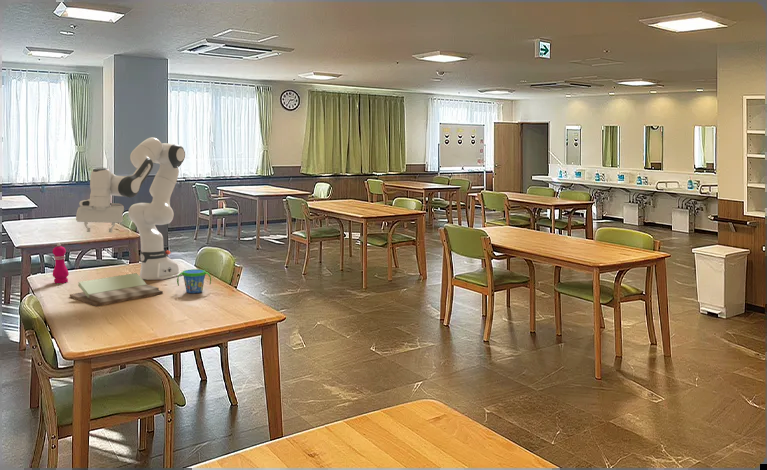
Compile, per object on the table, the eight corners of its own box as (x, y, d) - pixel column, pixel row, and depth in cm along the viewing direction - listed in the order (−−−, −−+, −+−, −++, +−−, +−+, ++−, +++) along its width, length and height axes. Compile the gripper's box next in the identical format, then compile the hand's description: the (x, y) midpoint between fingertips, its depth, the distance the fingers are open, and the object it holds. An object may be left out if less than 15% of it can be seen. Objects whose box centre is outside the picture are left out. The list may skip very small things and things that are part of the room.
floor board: (135, 285, 323) (134, 279, 323) (162, 293, 307) (162, 287, 307) (69, 296, 299) (69, 290, 299) (96, 306, 283) (95, 298, 283)
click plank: (135, 276, 318) (136, 273, 317) (146, 287, 313) (146, 284, 312) (78, 285, 297) (78, 282, 296) (88, 297, 292) (88, 294, 291)
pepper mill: (72, 281, 332) (69, 242, 329) (63, 284, 325) (61, 244, 322) (58, 280, 333) (56, 241, 330) (50, 283, 326) (47, 244, 323)
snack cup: (212, 289, 317) (212, 268, 316) (210, 294, 307) (209, 273, 306) (179, 289, 315) (178, 269, 314) (175, 295, 305) (174, 273, 304)
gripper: (124, 203, 312) (123, 232, 313) (76, 201, 304) (76, 231, 306) (124, 203, 306) (123, 233, 307) (75, 202, 299) (75, 232, 300)
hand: (99, 232), depth 306 cm, fingers open, 8 cm apart
